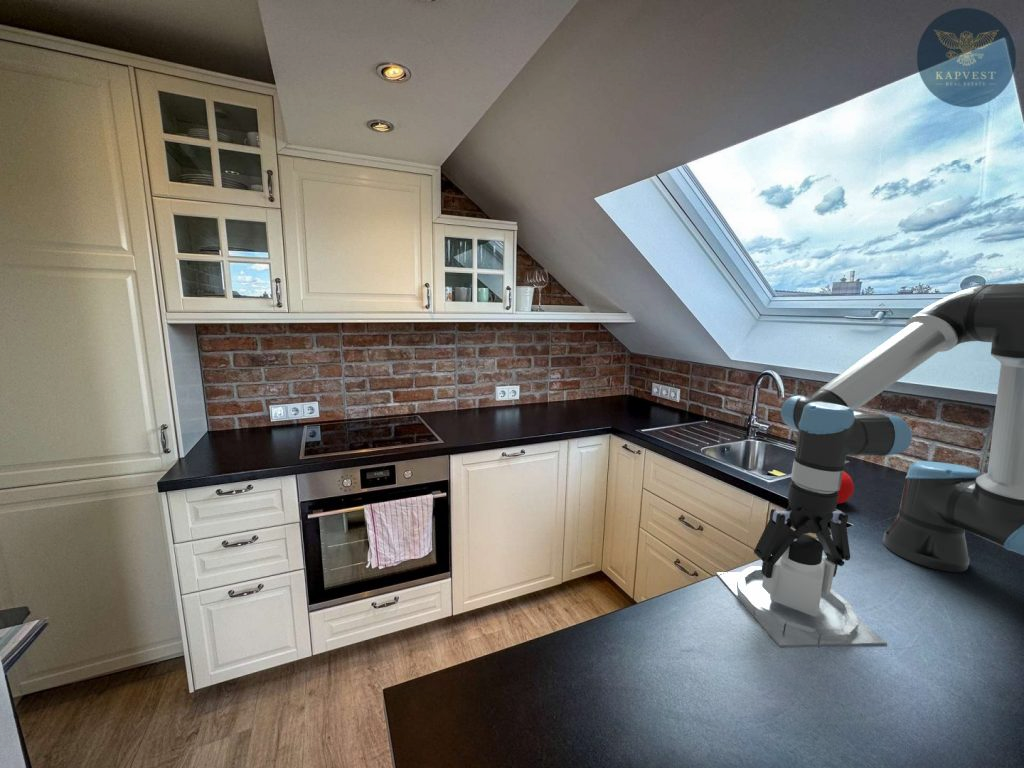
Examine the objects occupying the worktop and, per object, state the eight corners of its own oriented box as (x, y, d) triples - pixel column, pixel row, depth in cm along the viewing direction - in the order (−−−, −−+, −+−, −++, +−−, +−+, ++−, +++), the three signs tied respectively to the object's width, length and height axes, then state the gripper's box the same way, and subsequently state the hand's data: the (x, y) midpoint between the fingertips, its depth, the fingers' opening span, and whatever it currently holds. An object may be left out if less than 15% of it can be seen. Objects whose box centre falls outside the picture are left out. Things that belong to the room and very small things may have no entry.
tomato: (821, 509, 125) (828, 474, 123) (792, 490, 138) (797, 458, 136) (860, 510, 125) (868, 475, 123) (827, 491, 138) (833, 459, 136)
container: (820, 596, 83) (829, 536, 81) (817, 618, 78) (826, 554, 75) (775, 580, 88) (782, 523, 86) (769, 600, 82) (776, 540, 80)
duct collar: (802, 573, 94) (803, 565, 93) (886, 644, 74) (889, 634, 74) (716, 574, 92) (717, 565, 92) (779, 647, 73) (781, 637, 72)
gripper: (854, 477, 83) (834, 577, 87) (743, 477, 81) (728, 579, 85) (890, 494, 76) (867, 602, 80) (768, 494, 74) (751, 605, 78)
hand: (795, 590), depth 82 cm, fingers closed on container, 10 cm apart
